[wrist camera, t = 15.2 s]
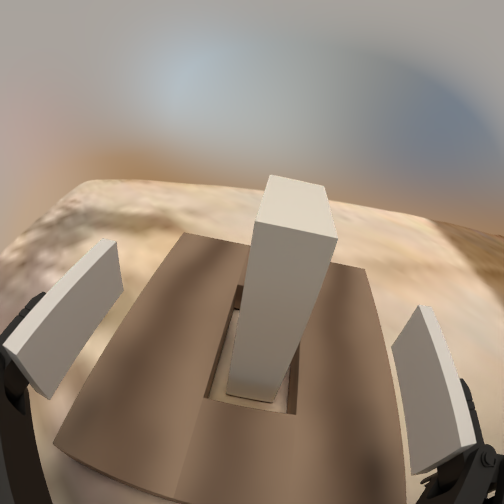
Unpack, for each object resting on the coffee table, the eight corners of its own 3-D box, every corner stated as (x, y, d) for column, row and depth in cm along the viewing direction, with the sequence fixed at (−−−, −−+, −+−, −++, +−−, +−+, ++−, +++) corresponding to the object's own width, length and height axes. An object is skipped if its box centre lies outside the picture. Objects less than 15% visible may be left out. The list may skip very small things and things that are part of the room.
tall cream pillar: (279, 335, 21) (324, 186, 15) (272, 402, 16) (338, 238, 10) (241, 328, 21) (270, 174, 15) (225, 393, 16) (254, 221, 10)
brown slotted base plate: (356, 288, 28) (364, 269, 26) (382, 515, 9) (406, 508, 8) (183, 253, 28) (183, 232, 27) (70, 457, 10) (52, 443, 9)
